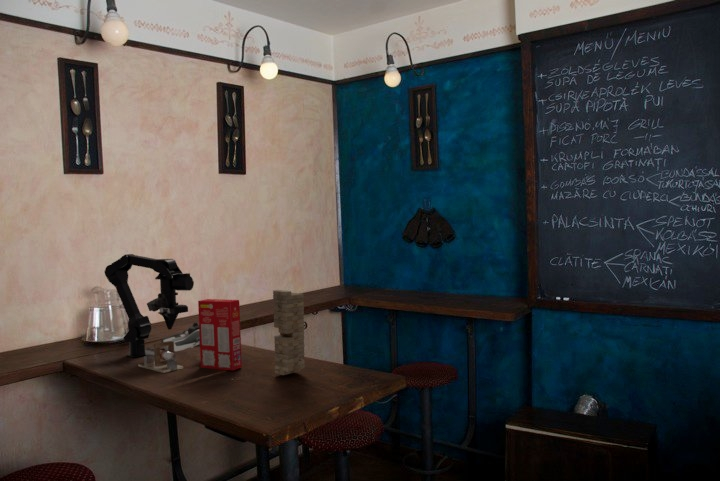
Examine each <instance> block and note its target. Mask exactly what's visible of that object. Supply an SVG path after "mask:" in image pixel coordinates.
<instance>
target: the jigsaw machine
mask: <svg viewBox="0 0 720 481" xmlns="http://www.w3.org/2000/svg"><path fill="white" fill-rule="evenodd" d="M167 341H174V353H175V352H180V351H184V350H187V349H190V348H191V349H193V348H194V347H197V346H200V334H199V322H197V321H194V322H193V324H192V326H189V327H188V329H184V330H183V331H182V332H178V333H174V334H172V335H171V334H170V335H169V336H165V337H163V338H161V342H160V343H162V342H167ZM163 349H164V350H165V351H168V346H164V347H163Z"/></svg>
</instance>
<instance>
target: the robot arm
mask: <svg viewBox="0 0 720 481" xmlns="http://www.w3.org/2000/svg"><path fill="white" fill-rule="evenodd" d="M133 266H135V267H136V266H137V267H140V268H145V269H146V268H147V269H151V270H152V271H153V272H155V273H158V275H156V277H155V278H154V279H155V280H159V286H160V287H159V288H160V289H159V290H160V293H158V294H157V298H154V299H152V300H149V302H147V303H146V306H147V309H148V311H149V312H154V313H155V312H157V311H159V312H157V313H158V315H161V317H163V320H164V322H165V325H166V328H167V330H168V331H169V330H172V329H173V326H174V325H175V322H176V319H177V318H178V316H179V314H184V313H188V312H189V306H188V305H186V304H179V302H177V297H176V296H178V295H179V292H176V291H183V292H184V291H185V292H187V291H192V289H193V288H194V285H195V284H194V283H195V281H194V279H193V277H192V276H191V273H190V272H188V273H183V271H182V269H180V267H179V266H178V263H177V261H176V259H174V258H152V257H149V256H148V257H147V256H141V255H137V254H133V253H129V254H123V255H122V256H121V257H120V258H118V259H116V261H113V262H112V263H111V264H109V265H107V266H106V267H105V269H104V276H105V277H106V279H107V280H108V282H109V283H110V284H111V285H112V286H114V288H115V289H116V290H115V291H116V292H117V294H118V297H119V299H120V302H121V304H122V307H123V309H124V311H125V313H126V316H127V317H128V320H127V329H128V331H127V333H126V334H125V335H124V336H123V339H124V343H129V353H126V354H125V355H126V356H127V357H131V358H137V357H142V356H143V357H144V356H147V355H146V354H145V351H146V345H145V340H147V339H149V338H150V333H151V332H152V323H151V321H150V318H149V316H148V315H143V314H142V313H141V311H140V309H139V306H138V304H137V302H136V300H135V297H134V295H133V293H132V290H131V287H130V284H129V283H128V282H129V281H128V279H129V270H131V269H132V267H133Z"/></svg>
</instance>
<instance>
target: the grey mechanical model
mask: <svg viewBox="0 0 720 481" xmlns="http://www.w3.org/2000/svg"><path fill="white" fill-rule="evenodd" d="M145 354H146V355H143V363H139V364H137V365H138V367H139V368H143V369H147V370H152V371H154V372H158V373H162V374H165V373H170V372H174V371H179V370H182V369H184V366H183V365H180V364H178V360H176V359H175V358H176V354H175V352H174V353H172V352H168V351H165V349H164V350H161V349H160V360H162V361H166V360H169V361H167V365H164V366H159V367H157V366H155V358H154V348H151V347H148V348H145Z"/></svg>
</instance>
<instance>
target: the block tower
mask: <svg viewBox="0 0 720 481" xmlns="http://www.w3.org/2000/svg"><path fill="white" fill-rule="evenodd" d="M304 297H305V296H304V293H301V292H299V293H298V292H293V291H291V290H283V289H274V290H272V298H273V299H272V300H273V328H277V329H278V330H277V331H278V333H279V334H278V335H274V337H273V338H274V374H277V375H280V376H286V375H289V374H294V373H299V372H301V370H302V369H303V370H304V369H305V368H306V365H305V362H306V361H305V359H303V358H300V357H304V356H305V308H304V304H305V302H304Z"/></svg>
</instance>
